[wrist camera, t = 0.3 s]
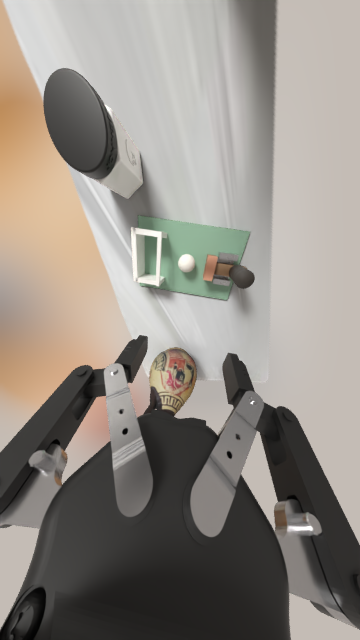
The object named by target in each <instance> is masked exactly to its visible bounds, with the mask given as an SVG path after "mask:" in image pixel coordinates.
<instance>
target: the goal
mask: <svg viewBox="0 0 360 640" xmlns="http://www.w3.org/2000/svg"><path fill="white" fill-rule="evenodd" d="M167 234H168V233H165V232H160V231H153V230H146V229H140V228H133V227H131V240H132V259H133V278H134V282H140V283H146V284H152V285H156V286H158V287H159V286H160V285H161V284H162V283H163V282H164V279H165V277H162V276H160V269H161V249H162V238H167ZM145 235H147V236H154V237H157V264H156V275H150V274H145Z"/></svg>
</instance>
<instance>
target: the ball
mask: <svg viewBox="0 0 360 640" xmlns="http://www.w3.org/2000/svg"><path fill="white" fill-rule="evenodd" d="M178 266H179V268H180V270H181V271H183V272H190V271H192V270H193V268H194V266H195V260H194V258H193V257H192V256H191V255H189V254H184V255H182V256H181V257H180V259H179V261H178Z"/></svg>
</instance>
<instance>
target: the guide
mask: <svg viewBox="0 0 360 640" xmlns="http://www.w3.org/2000/svg"><path fill="white" fill-rule="evenodd" d="M238 257H239V255H237V254H231V253H225V252H219V253H218V259H217V262H220V263H226V264H232V265H233V263H234V261H237V260H238ZM230 282H231V281H230V280H229V277H228V276H221V275H215V274H214V275H213V279H212V284H218V285H224V286H229V285H230Z"/></svg>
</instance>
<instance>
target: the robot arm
mask: <svg viewBox="0 0 360 640" xmlns="http://www.w3.org/2000/svg"><path fill="white" fill-rule="evenodd" d="M147 347H148V337H147V336H142V335H139V337H138V338H137V340H135V339H133V340H131V341H130V342H129V343H128V344H127V346H126V347H125V349H124V350H123V351H122V353H121V354H120V356H119V358H118V359H117V360H116V361H115V363H114V364H111V365H109V366H108V367H106V368H105V369H95V370H93V369H92V367H91V366H88V365H84V366H80V367H78V368H76V369H75V370H73V371H72V372H71V374H70V375H69V376H68V377H67V378H66V379H65V380H64V381H63V383H62V384H61V385H60V386H59V387H58V388H57V389H56V391H55V392H54V393H53V394H52V395H51V396H50V397H49V399H48V400H47V401H46V402H45V403H44V404H43V405H42V406H41V407H40V409H39V410H38V411H37V412H36V413H35V414H34V415H33V416H32V418H31V419H30V420H29V421H28V422H27V423H26V424H25V425H24V427H23V428H22V429H21V430H20V431H19V432H18V433H17V435H16V436H15V437H14V438H13V439H12V440H11V441H10V442H9V444H8V445H7V446H6V447H5V448H4V449H3V450H2V451H1V453H0V528H7V527H9V526H12V525H17V526H24V527H32V528H40V530H39V535H38V539H37V543H36V547H35V551H34V554H33V558H32V561H31V564H30V566H29V569H28V572H27V575H26V577H25V580H24V582H23V585H22V587H21V590H20V592H19V594H18V597H17V598H16V601H15V603H14V605H13V607H12V609H11V611H10V613H9V614H8V617H7V618H6V620H5V622H4V624H3V626H2V627H1V629H0V640H291V638H290V626H289V593H292V594H294V595H297V596H299V597H302V598H305V599H307V600H310V602H311V603H312V604H313V605H314V607H316V608H317V609H318V610H319V611H320V612H322V613H324V614H326V615H328V616H331V617H333V618H335V619H337V620H340V621H342V622H344V623H346V624H348V625H351V626H353V627H355V628H357V629H359V630H360V545H359V543H358V541H357V539H356V537H355V535H354V533H353V531H352V529H351V527H350V525H349V522H348V520H347V518H346V516H345V514H344V512H343V510H342V508H341V506H340V504H339V502H338V500H337V498H336V496H335V494H334V492H333V490H332V488H331V486H330V484H329V482H328V480H327V478H326V476H325V474H324V472H323V470H322V468H321V466H320V464H319V462H318V460H317V458H316V456H315V454H314V452H313V450H312V448H311V446H310V443H309V442H308V439H307V437H306V435H305V434H304V431H303V429H302V427H301V426H300V423H299V421H298V419H297V418H296V416H295V415H294V414H293V413H292V412H291V411H290V410H289V409H287V408H285V407H282V406H279V407H277V408H274V407H272V406H270V405H268V404H266V403H264V402H263V400H262V399H261V397H260V396H259V395H258V394H257V393H255V391H254V388H253V385H252V382H251V380H250V377H249V374H248V372H247V369H246V366H245V365H244V363H243V362H242V361H239V359H238V356H237V354H232V353H228V354H227V356H226V358H225V361H224V363H223V367H222V369H223V375H224V381H225V386H226V393H227V399H228V404H232V405H233V406H234V409H233V410H232V412H231V414H230V416H229V417H228V419H227V420H226V422H225V424H224V425H223V427H222V429H221V430H220V432H219V434H218V435H217V434H216V433H215V432H214V431H213V430H212V429H211V428H209V427H208V426H206V421H205V420H201V419H196V418H185V419H177V418H175V417H174V416H172V415H170V414H168V413H166V412H164V411H159V410H155V409H152V411H151V413H147V414H144V415H141V416H139V417H138V418H137V416H136V412H135V408H134V404H133V400H132V397H131V393H130V390H129V388H128V382H129V383H132V382H133V380H134V378H135V376H136V374H137V372H138V370H139V368H140V365H141V363H142V361H143V359H144V357H145V355H146V352H147ZM100 396H106V404H107V413H108V420H109V421H108V422H109V431H110V440H111V441H110V442H108V443H107V444H106V445H105V446H104V447H103V448H102V449H101V450H99V451H98V453H96V454H95V455H94V456H93V457H91V458H90V459H89V460H88V461H87V462H86V463H85V464H84V465H82V466H81V467H80V468H79V469H78V470H77V471H76V472H74V473H73V474H72V475H71V476H70V477H69V478H68V479H67V480H66V481H65V483H64V484H63V485H62V482H61V479H62V474H63V471H64V469H65V466H66V463H67V454H66V452H65V449H66V448H67V446H68V444H69V442H70V441H71V439H72V437H73V435H74V434H75V432H76V431H77V429H78V427H79V426H80V424H81V422H82V421H83V419H84V417H85V415H86V413H87V412H88V410H89V409H90V407H91V405H92V404H93V402H94V400H95V399H96V397H100ZM257 431H259V432H260V435H261V439H262V443H263V446H264V450H265V454H266V458H267V461H268V466H269V469H270V473H271V476H272V481H273V484H274V488H275V492H276V496H277V500H278V502H277V503H276V505H275V508H274V517H275V525H276V527H275V532H274V530H273V528H272V526H271V524H270V523H269V521H268V519H267V517H266V516H265V514H264V512H263V511H262V509H261V507H260V505H259V504H258V502H257V500H256V499H255V497H254V495H253V494H252V492H251V490H250V489H249V487H248V485H247V483H246V482H245V480H244V478H243V477H242V475H241V472H242V469H243V467H244V464H245V461H246V459H247V456H248V454H249V451H250V448H251V445H252V443H253V440H254V438H255V435H256V432H257Z"/></svg>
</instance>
